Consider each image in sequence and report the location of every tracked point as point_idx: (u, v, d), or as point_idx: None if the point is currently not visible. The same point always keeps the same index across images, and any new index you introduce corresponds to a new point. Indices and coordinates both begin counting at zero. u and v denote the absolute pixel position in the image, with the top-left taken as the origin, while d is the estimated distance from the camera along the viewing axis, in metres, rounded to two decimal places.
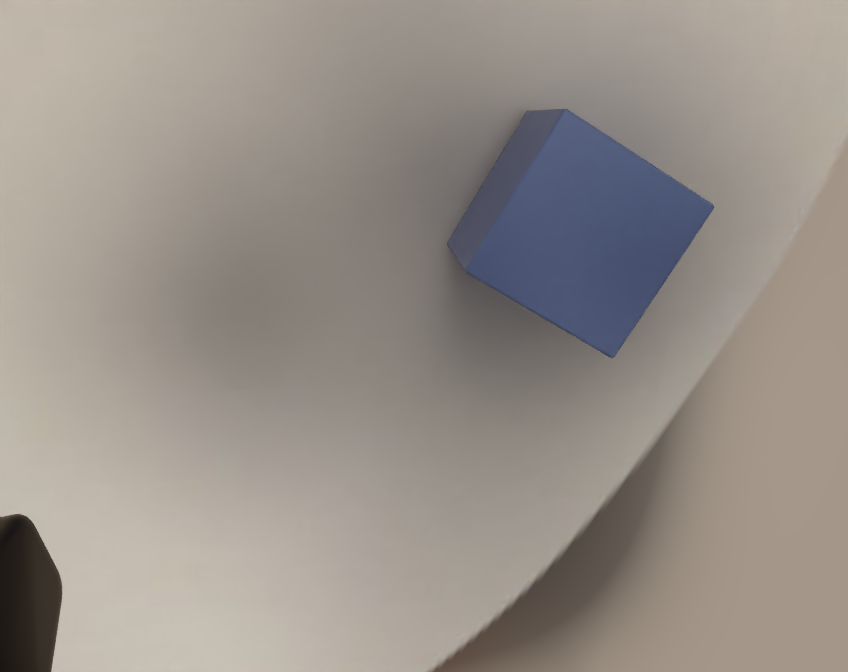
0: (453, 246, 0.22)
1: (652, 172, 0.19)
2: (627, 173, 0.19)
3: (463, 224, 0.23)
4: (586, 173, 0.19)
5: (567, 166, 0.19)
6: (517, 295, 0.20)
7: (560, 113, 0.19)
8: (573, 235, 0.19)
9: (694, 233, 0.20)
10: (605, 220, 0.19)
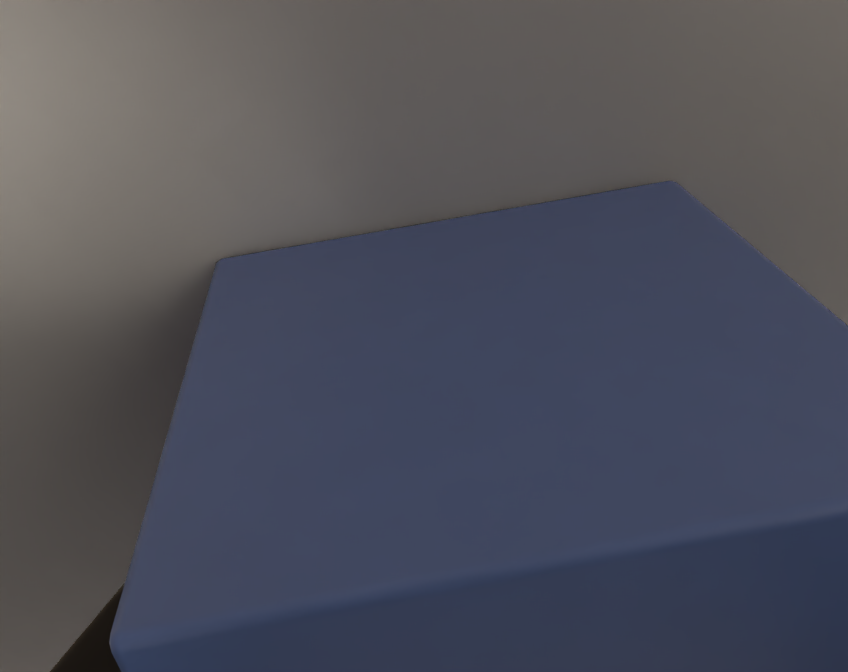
0: (214, 319, 0.06)
1: None
2: None
3: (295, 278, 0.07)
4: None
5: (796, 628, 0.04)
6: None
7: None
8: None
9: None
10: None
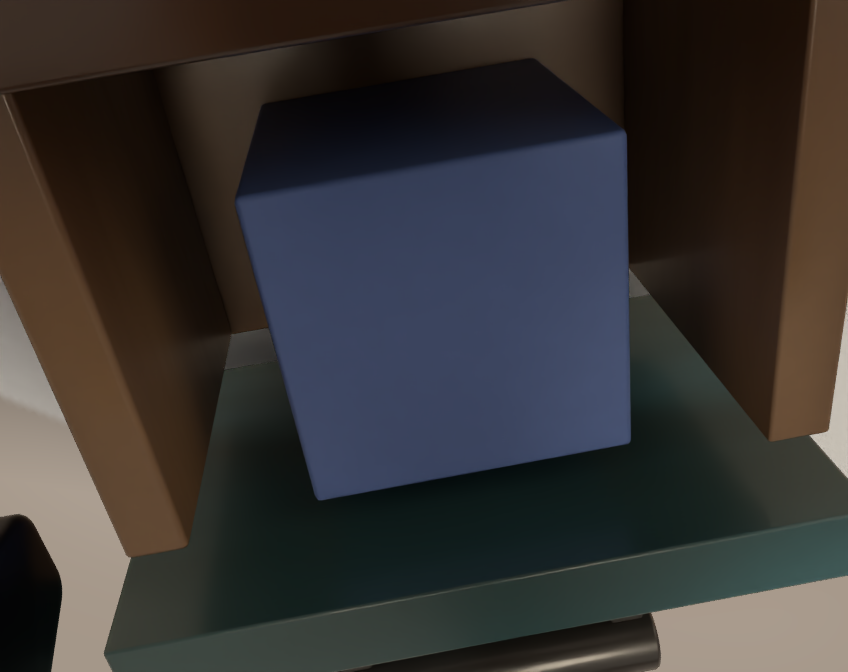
0: (264, 123, 0.12)
1: (619, 334, 0.10)
2: (594, 304, 0.10)
3: (308, 107, 0.12)
4: (549, 250, 0.10)
5: (538, 214, 0.09)
6: (277, 310, 0.10)
7: (611, 129, 0.09)
8: (441, 308, 0.10)
9: (575, 450, 0.11)
10: (501, 332, 0.10)
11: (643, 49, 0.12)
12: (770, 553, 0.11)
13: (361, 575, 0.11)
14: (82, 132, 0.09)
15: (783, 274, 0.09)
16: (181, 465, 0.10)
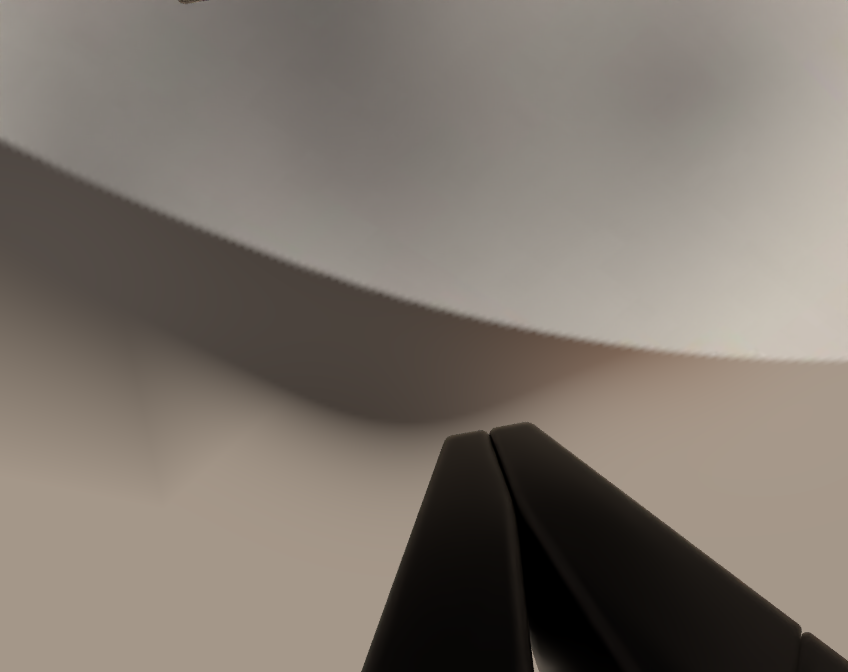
0: None
1: None
2: None
3: None
4: None
5: None
6: None
7: None
8: None
9: None
10: None
11: None
12: None
13: None
14: None
15: None
16: None
